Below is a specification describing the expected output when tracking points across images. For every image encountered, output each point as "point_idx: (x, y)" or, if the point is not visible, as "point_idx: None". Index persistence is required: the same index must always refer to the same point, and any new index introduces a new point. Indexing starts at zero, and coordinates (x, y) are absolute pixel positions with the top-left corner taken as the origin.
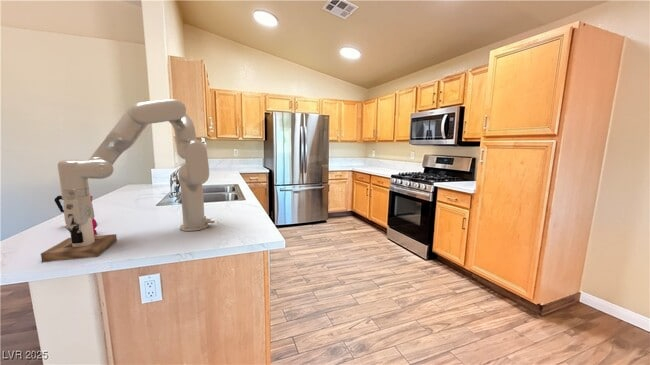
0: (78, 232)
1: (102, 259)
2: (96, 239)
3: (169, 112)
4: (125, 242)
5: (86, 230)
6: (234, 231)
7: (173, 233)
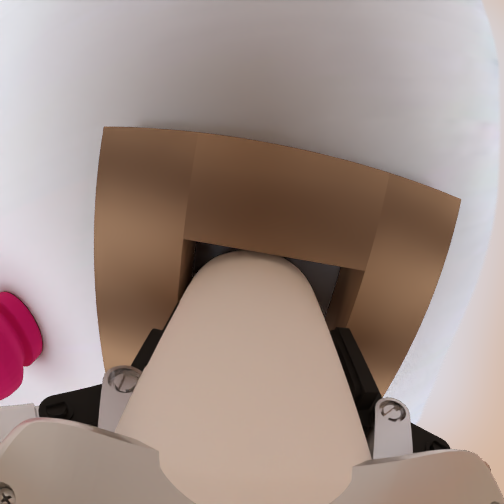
0: (402, 406)
1: (473, 164)
2: (182, 257)
3: None
4: (198, 62)
5: (338, 373)
6: None
7: None
